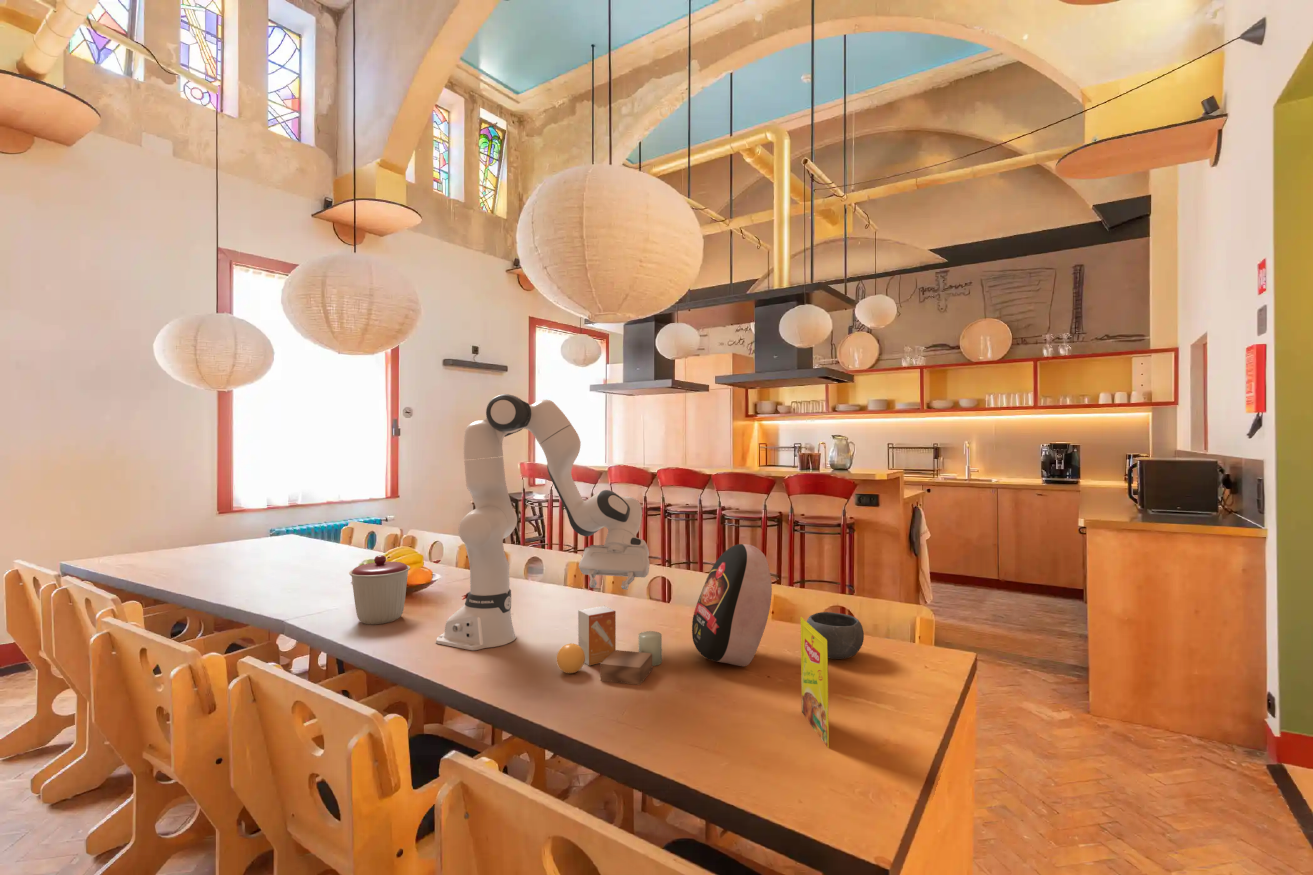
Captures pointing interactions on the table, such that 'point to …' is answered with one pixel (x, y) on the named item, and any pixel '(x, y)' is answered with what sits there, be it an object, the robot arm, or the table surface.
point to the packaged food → (733, 606)
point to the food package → (815, 680)
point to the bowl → (838, 633)
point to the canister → (379, 590)
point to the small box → (597, 633)
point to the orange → (570, 658)
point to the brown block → (626, 667)
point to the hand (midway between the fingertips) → (608, 587)
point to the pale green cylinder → (651, 645)
